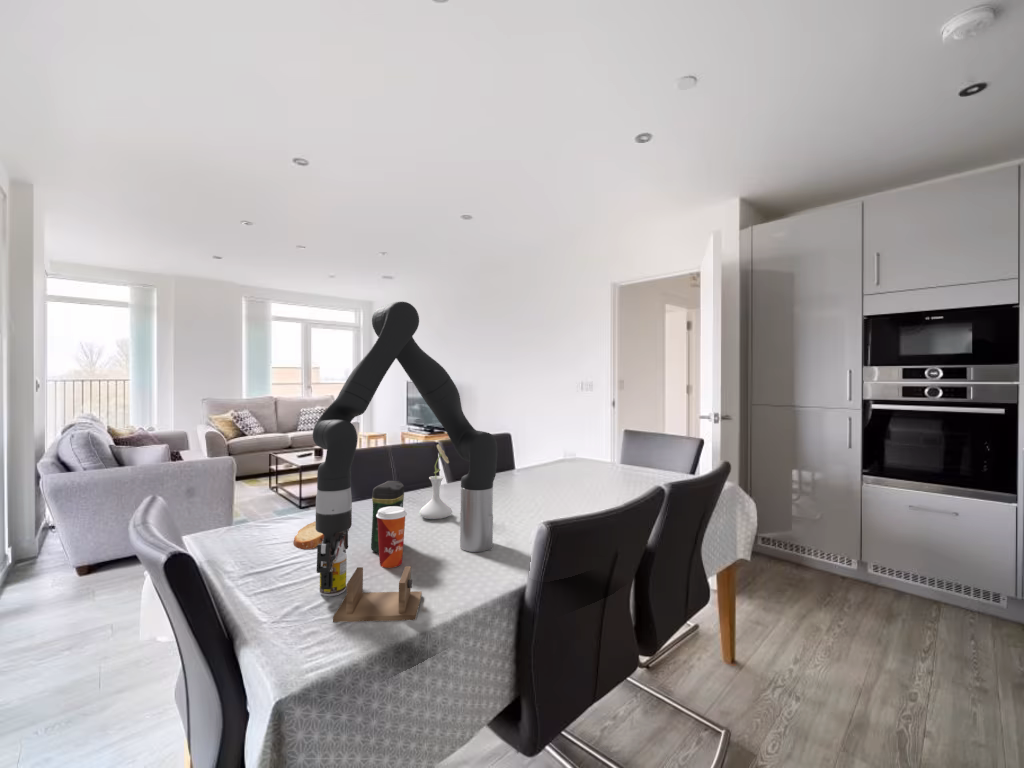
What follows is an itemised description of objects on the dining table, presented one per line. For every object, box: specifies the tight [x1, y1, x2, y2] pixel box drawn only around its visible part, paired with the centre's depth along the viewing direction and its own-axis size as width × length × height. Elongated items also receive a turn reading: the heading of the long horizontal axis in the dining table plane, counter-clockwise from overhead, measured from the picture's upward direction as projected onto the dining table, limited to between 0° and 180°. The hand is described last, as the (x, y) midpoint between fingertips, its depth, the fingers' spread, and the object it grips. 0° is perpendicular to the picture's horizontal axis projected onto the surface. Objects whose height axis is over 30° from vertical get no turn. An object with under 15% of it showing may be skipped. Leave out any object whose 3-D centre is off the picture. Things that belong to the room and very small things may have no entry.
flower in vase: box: [418, 443, 453, 520], centre depth 157 cm, size 13×11×25 cm
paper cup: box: [376, 506, 408, 569], centre depth 116 cm, size 8×8×14 cm
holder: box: [332, 565, 423, 623], centre depth 94 cm, size 16×10×7 cm, turn 94°
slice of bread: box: [293, 520, 324, 550], centre depth 136 cm, size 18×18×4 cm
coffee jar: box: [370, 480, 405, 554], centre depth 127 cm, size 10×8×19 cm
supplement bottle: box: [319, 544, 348, 597], centre depth 101 cm, size 6×6×10 cm
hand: (333, 579), depth 101 cm, fingers open, 8 cm apart
